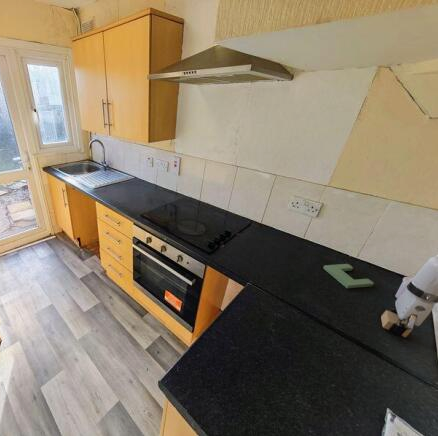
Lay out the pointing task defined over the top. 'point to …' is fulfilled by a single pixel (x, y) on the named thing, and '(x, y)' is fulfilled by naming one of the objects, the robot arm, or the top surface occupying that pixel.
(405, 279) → the smoothie
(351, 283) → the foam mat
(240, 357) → the top surface
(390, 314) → the tan block
